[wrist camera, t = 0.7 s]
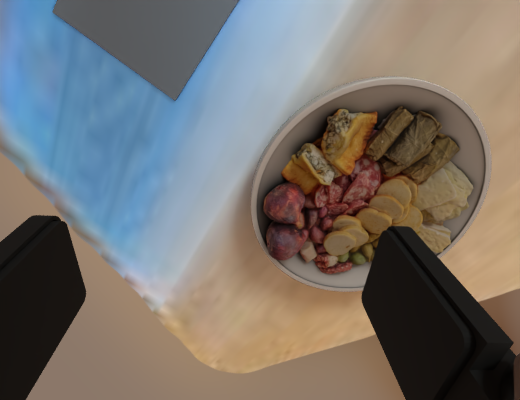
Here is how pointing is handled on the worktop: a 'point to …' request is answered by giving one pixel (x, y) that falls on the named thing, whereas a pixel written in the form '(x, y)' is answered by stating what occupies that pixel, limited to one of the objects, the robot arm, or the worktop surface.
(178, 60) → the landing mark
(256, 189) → the bowl
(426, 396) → the robot arm
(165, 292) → the worktop surface
